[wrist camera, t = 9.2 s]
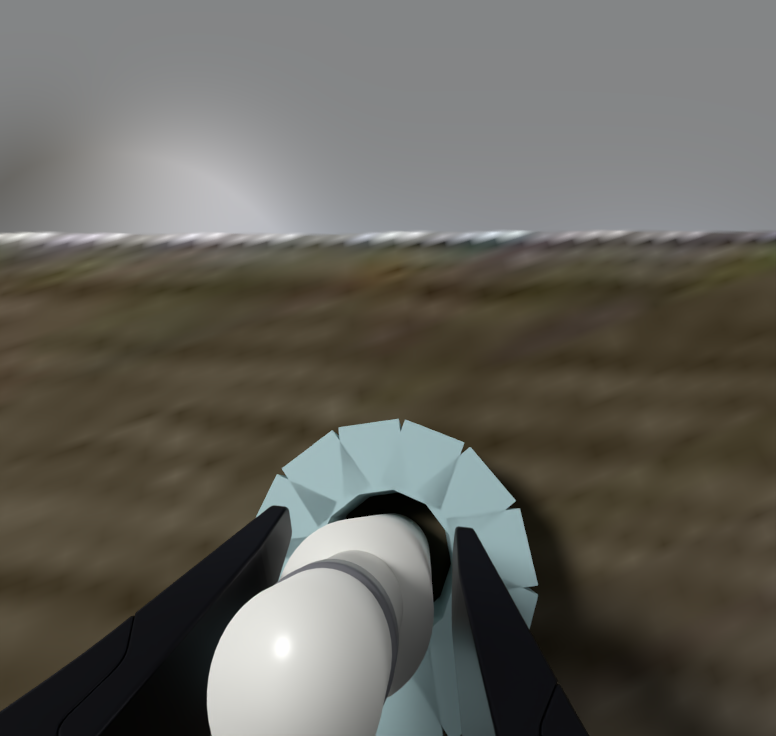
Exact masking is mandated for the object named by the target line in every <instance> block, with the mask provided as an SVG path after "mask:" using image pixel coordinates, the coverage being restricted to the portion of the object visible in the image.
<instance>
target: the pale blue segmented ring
mask: <svg viewBox="0 0 776 736" xmlns="http://www.w3.org/2000/svg"><path fill="white" fill-rule="evenodd" d="M463 445H464V442H462V441H459V440H456V439H454V438H451V437H449V436H446V435H444V434H441V433H439V432H436V431H433V430H431V429H428V428H426V427H423V426H421V425H418V424H415V423H413V422H410V421H408V420H405V422H404V424H403V427H402V428H401V425H400V422H399V419H394V420H387V421H380V422H373V423H366V424H359V425H353V426H346V427H339V435H338V434H336V433H335V432H334V431H333V430H332V431H331V432H329V433H328V434H327V435H325V436H324V437H323V438H321V439H320V440H319V441H317V442H316V443H315V444H313V445H312V446H311V447H310V448H308V449H307V450H306V451H304V452H303V453H302V454H300V455H299V456H298V457H296V458H295V459H294V460H292V461H291V462H290V463H288V464H287V465H286V466H284V467H283V468H282V470H283V471H284V473H285V474H286V476H283V475H278V474H277V475H276V477H275V480H274V482H273V484H272V486H271V488H270V490H269V492H268V494H267V496H266V498H265V500H264V502H263V504H262V506H261V508H260V510H259V512H258V514H257V516H259V515H260V514H261V513H263V512H264V511H265V510H266V509H268V508H269V507H270V506H273V505H276V506H285V507H287V508H288V509H289V513H290V520H291V527H292V537H291V541H290V544H289V548H288V551H287V554H286V557H285V561H284V564H283V567H282V570H281V573H280V577H281V575H282V572H283V570H284V568H285V566H286V564H287V562H288V560H289V558H290V557H291V555H292V554H293V553H294V551H295V550H296V548H297V547H298V546H299V545H300V544H301V543H302V542H303V541H304V540H305V539H306V538H307V537H308V536H309V535H311V534H312V533H313V532H315V531H316V530H318V529H319V528H321V527H323V526H325V525H327V524H330V523H333V522H336V521H340V520H345V518H346V516H347V515H348V514H349V513H350V512H351V511H353V510H354V509H355V508H356V507H358V506H359V505H360V504H361V503H363V502H364V501H365V500H366V499H368V498H369V497H370V496H377V495H385V494H392V493H401V494H403V495H405V496H408V497H410V498H412V499H415V500H417V501H419V502H421V503H424V504H426V505H427V507H428V508H429V509H430V511H431V512H432V513H433V515H434V516H435V517H436V519H437V520H438V521H439V523H440V524H441V525H442V527H443V528H444V529H445V532H446V538H447V544H448V550H449V556H450V562H451V565H450V568H449V571H448V574H447V577H446V580H445V583H444V586H443V589H442V592H441V595H440V597H439V598H438V599H437V600H436V601H435V602H433V604H434V621H433V628H432V635H431V638H430V642H429V646H428V649H427V651H426V654H425V656H424V658H423V660H422V662H421V664H420V666H419V667H418V669H417V671H416V672H415V673H414V675H413V676H412V677H411V679H410V680H409V681H408V682H407V683H406V684H405V685H404V686H403V687H402V688H401V689H400V690H398V691H397V692H396V693H394V694H393V695H392V696H390V697H388V698H387V699H386V701H385V704H384V706H383V709H382V713H381V718H380V722H379V725H378V729H377V732H376V735H375V736H443V729H444V730H445V732H446V733H447V735H448V736H460V735H461V734H462V732H461V721H460V711H459V701H458V690H457V680H456V670H455V660H454V649H453V638H452V553H453V543H454V534H455V528H456V527H457V526H461V527H470V528H473V529H474V531H475V532H476V534H477V536H478V538H479V539H480V541H481V543H482V545H483V547H484V548H485V550H486V552H487V554H488V556H489V557H490V559H491V561H492V563H493V565H494V566H495V568H496V570H497V572H498V574H499V575H500V577H501V579H502V581H503V583H504V585H505V586H506V588H507V590H508V592H509V594H510V595H511V597H512V599H513V601H514V603H515V604H516V606H517V608H518V610H519V612H520V613H521V615H522V617H523V619H524V621H525V622H526V624H527V626H528V628H529V629H530V625H531V621H532V618H533V614H534V610H535V606H536V602H537V598H538V594H536V593H535V592H534V591H533V590H531V589H530V588H529V587H532V586H538V582H537V578H536V574H535V570H534V566H533V561H532V557H531V553H530V549H529V545H528V540H527V536H526V532H525V528H524V524H523V519H522V515H521V511H520V508H508V507H509V506H511V505H512V504H513V503H514V502H515V501H516V500H515V499H514V498H513V497H512V495H511V494H510V493H509V492H508V491H507V490H506V488H505V487H504V486H503V485H502V484H501V482H500V481H499V480H498V479H497V478H496V477H495V475H494V474H493V473H492V472H491V471H490V470H489V468H488V467H487V466H486V465H485V464H484V462H483V461H482V460H481V459H480V458H479V457H478V455H477V454H476V453H475V452H474V451H473V449H472V448H471V447H470V448H468V449H467V450H466V451H465V452H463V453H462V454H461V455H460V453H461V450H462V448H463ZM257 516H256V517H257ZM280 577H279V580H280ZM279 580H278V581H279Z"/></svg>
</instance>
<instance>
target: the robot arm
mask: <svg viewBox="0 0 776 736" xmlns="http://www.w3.org/2000/svg"><path fill="white" fill-rule="evenodd" d="M291 537H292V527H291V520H290V513H289V509H288V508H287V507H285V506H276V505H273V506H270V507H269V508H268V509H266V510H265V511H264V512H263V513H261V514H260V515H259V516H257V517H256V518H255V519H254V520H252V521H251V522H250V523H249V524H247V525H246V526H245V527H244V528H242V529H241V530H240V531H239V532H237V533H236V534H235V535H233V536H232V537H231V538H230V539H228V540H227V541H226V542H225V543H223V544H222V545H221V546H220V547H218V548H217V549H216V550H214V551H213V552H212V553H211V554H209V555H208V556H207V557H206V558H204V559H203V560H202V561H201V562H199V563H198V564H197V565H196V566H194V567H193V568H192V569H190V570H189V571H188V572H187V573H185V574H184V575H183V576H182V577H180V578H179V579H178V580H177V581H175V582H174V583H173V584H172V585H170V586H169V587H168V588H166V589H165V590H164V591H163V592H161V593H160V594H159V595H158V596H156V597H155V598H154V599H153V600H151V601H150V602H149V603H147V604H146V605H145V606H144V607H142V608H141V609H140V610H139V611H137V612H136V613H135V616H131V617H130V618H128V619H127V620H126V621H125V622H123V623H122V624H121V625H119V626H118V627H117V628H116V629H114V630H113V631H112V632H111V633H109V634H108V635H107V636H105V637H104V638H103V639H101V640H100V641H99V642H97V643H96V644H95V645H93V646H92V647H91V648H90V649H88V650H87V651H86V652H84V653H83V654H82V655H80V656H79V657H77V658H76V659H75V660H73V661H72V662H70V663H69V664H68V665H66V666H65V667H63V668H62V669H61V670H59V671H58V672H56V673H55V674H54V675H52V676H51V677H49V678H48V679H47V680H45V681H44V682H42V683H41V684H39V685H38V686H36V687H35V688H34V689H32V690H31V691H29V692H28V693H26V694H25V695H23V696H22V697H21V698H19V699H18V700H16V701H15V702H13V703H12V704H11V705H9V706H8V707H6V708H5V709H3V710H2V711H0V736H212V735H211V730H210V725H209V721H208V711H207V687H208V677H209V672H210V667H211V663H212V660H213V656H214V653H215V650H216V648H217V645H218V643H219V641H220V638H221V636H222V635H223V633H224V631H225V629H226V627H227V626H228V624H229V623H230V621H231V620H232V619H233V617H234V616H235V615H236V613H237V612H238V611H239V610H240V609H241V608H242V607H243V606H244V605H245V604H246V603H247V602H248V601H249V600H250V599H252V598H253V597H254V596H256V595H257V594H259V593H260V592H262V591H264V590H266V589H268V588H270V587H271V586H273V585H275V584H276V583H277V582H278V580H279V577H280V573H281V570H282V567H283V564H284V561H285V557H286V554H287V551H288V548H289V544H290V541H291ZM452 638H453V649H454V660H455V670H456V680H457V690H458V701H459V711H460V721H461V732H462V736H589V735H588V733H587V731H586V729H585V728H584V726H583V724H582V723H581V721H580V719H579V717H578V716H577V714H576V712H575V711H574V709H573V707H572V705H571V703H570V702H569V700H568V698H567V696H566V694H565V693H564V691H563V689H562V687H561V686H560V685H559V684H557V678H556V677H555V675H554V673H553V671H552V669H551V668H550V666H549V664H548V662H547V660H546V659H545V657H544V655H543V653H542V651H541V650H540V648H539V646H538V644H537V642H536V641H535V639H534V637H533V635H532V633H531V631H530V630H529V628H528V626H527V624H526V622H525V621H524V619H523V617H522V615H521V613H520V612H519V610H518V608H517V606H516V604H515V603H514V601H513V599H512V597H511V595H510V594H509V592H508V590H507V588H506V586H505V585H504V583H503V581H502V579H501V577H500V575H499V574H498V572H497V570H496V568H495V566H494V565H493V563H492V561H491V559H490V557H489V556H488V554H487V552H486V550H485V548H484V547H483V545H482V543H481V541H480V539H479V538H478V536H477V534H476V532H475V531H474V529H473V528H470V527H461V526H457V527H456V528H455V534H454V543H453V553H452ZM556 684H557V685H556Z"/></svg>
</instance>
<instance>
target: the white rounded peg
mask: <svg viewBox="0 0 776 736" xmlns="http://www.w3.org/2000/svg"><path fill="white" fill-rule="evenodd" d="M433 621H434V604H433V590H432V576H431V562H430V549H429V544H428V541H427V538H426V536H425V534H424V532H423V531H422V529H421V528H420V527H419V525H418V524H417V523H416V522H414V521H413V520H412V519H410V518H408V517H407V516H404V515H401V514H397V513H387V514H380V515H373V516H366V517H359V518H352V519H345V520H340V521H336V522H333V523H330V524H327V525H325V526H323V527H321V528H319V529H318V530H316V531H315V532H313V533H312V534H311V535H309V536H308V537H307V538H306V539H305V540H304V541H303V542H302V543H301V544H300V545H299V546H298V547H297V548H296V550H295V551H294V553H293V554H292V555H291V557H290V558H289V560H288V562H287V564H286V566H285V568H284V570H283V572H282V575H281V577H280V580H279V581H278V582H277V583H276V584H275V585H273V586H271V587H270V588H268V589H266V590H264V591H262V592H260V593H259V594H257V595H256V596H254V597H253V598H252V599H250V600H249V601H248V602H247V603H246V604H245V605H244V606H243V607H242V608H241V609H240V610H239V611H238V612H237V613H236V615H235V616H234V617H233V619H232V620H231V621H230V623H229V624H228V626H227V627H226V629H225V631H224V633H223V635H222V636H221V638H220V641H219V643H218V645H217V648H216V650H215V653H214V656H213V660H212V663H211V667H210V672H209V677H208V687H207V711H208V721H209V725H210V730H211V735H212V736H375V735H376V732H377V729H378V725H379V722H380V718H381V713H382V709H383V706H384V704H385V701H386V699H387V698H388V697H390V696H392V695H393V694H394V693H396V692H397V691H398V690H400V689H401V688H402V687H403V686H404V685H405V684H406V683H407V682H408V681H409V680H410V679H411V677H412V676H413V675H414V673H415V672H416V671H417V669H418V667H419V666H420V664H421V662H422V660H423V658H424V656H425V654H426V651H427V649H428V646H429V642H430V638H431V635H432V628H433Z"/></svg>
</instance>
